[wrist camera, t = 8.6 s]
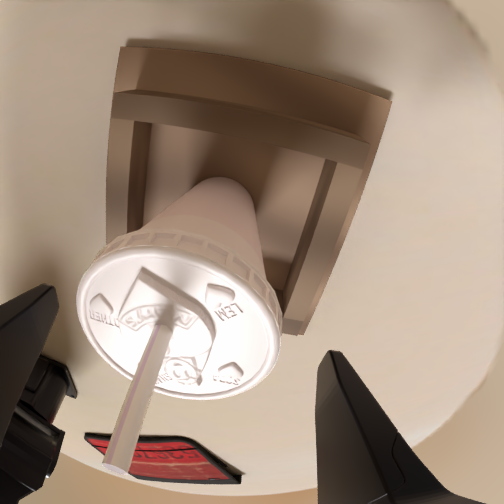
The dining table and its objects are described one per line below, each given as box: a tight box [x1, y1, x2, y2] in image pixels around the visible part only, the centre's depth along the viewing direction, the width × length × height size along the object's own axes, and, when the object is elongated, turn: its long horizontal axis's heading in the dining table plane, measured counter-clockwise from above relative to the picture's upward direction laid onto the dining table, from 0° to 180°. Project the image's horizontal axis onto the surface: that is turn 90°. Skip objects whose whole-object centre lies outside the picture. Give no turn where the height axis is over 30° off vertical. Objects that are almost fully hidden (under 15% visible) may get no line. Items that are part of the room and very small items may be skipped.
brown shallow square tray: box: [106, 47, 392, 336], centre depth 16 cm, size 16×14×3 cm
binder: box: [84, 433, 242, 484], centre depth 39 cm, size 16×2×21 cm
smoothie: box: [76, 177, 282, 475], centre depth 11 cm, size 6×6×14 cm
